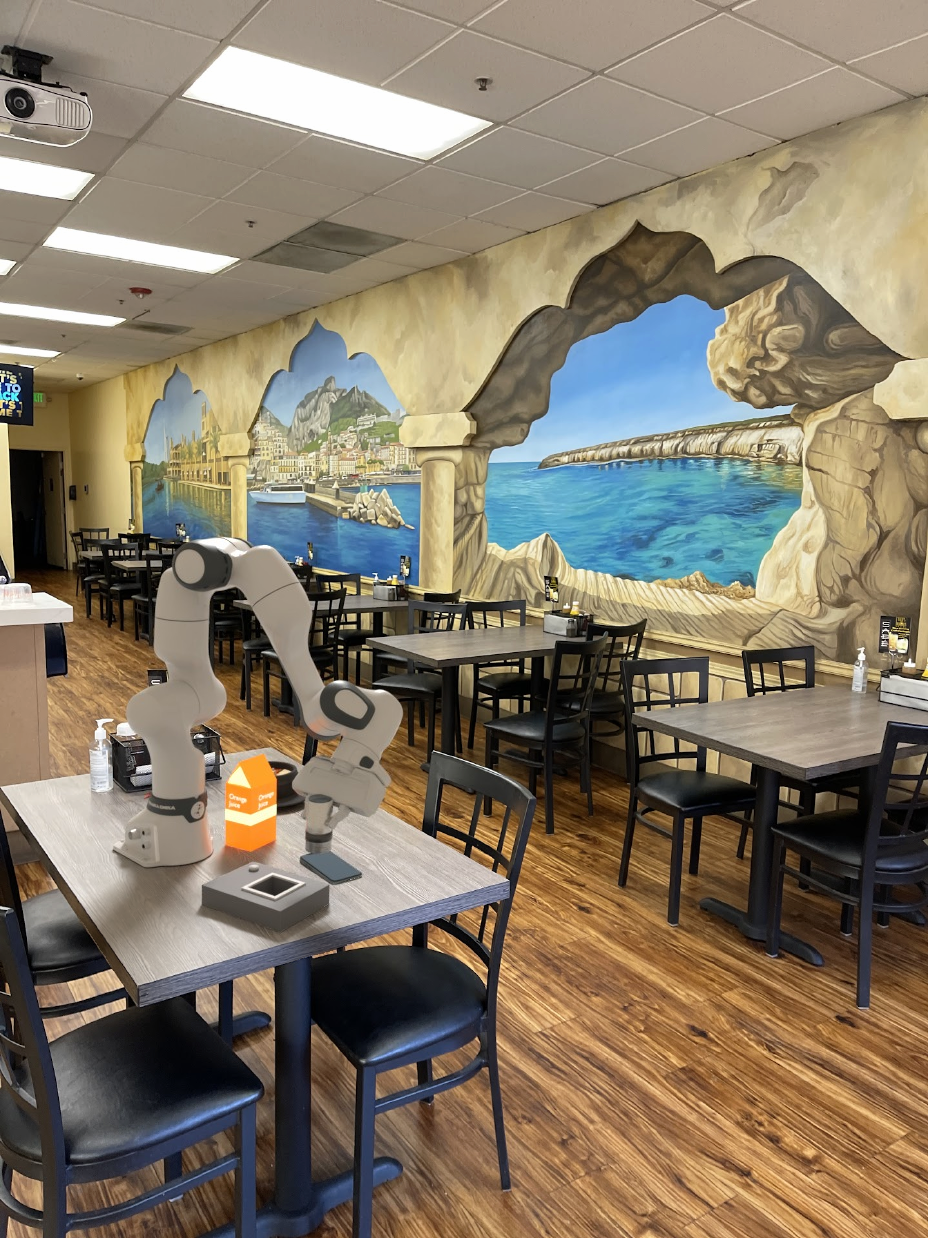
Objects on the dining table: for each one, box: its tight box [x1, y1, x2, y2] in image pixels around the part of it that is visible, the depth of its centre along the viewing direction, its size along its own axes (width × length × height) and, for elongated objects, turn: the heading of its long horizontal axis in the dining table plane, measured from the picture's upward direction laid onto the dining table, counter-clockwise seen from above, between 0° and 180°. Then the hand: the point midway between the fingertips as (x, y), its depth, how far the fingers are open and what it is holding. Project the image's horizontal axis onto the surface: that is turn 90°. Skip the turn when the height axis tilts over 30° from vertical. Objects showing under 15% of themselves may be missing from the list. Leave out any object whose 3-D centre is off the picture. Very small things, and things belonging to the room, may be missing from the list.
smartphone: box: [299, 851, 363, 885], centre depth 186 cm, size 8×2×15 cm
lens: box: [304, 794, 334, 854], centre depth 167 cm, size 5×5×10 cm
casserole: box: [267, 760, 306, 808], centre depth 229 cm, size 25×19×8 cm
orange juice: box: [224, 753, 278, 852], centre depth 198 cm, size 8×9×20 cm
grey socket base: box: [201, 860, 330, 933], centre depth 167 cm, size 20×14×5 cm
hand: (316, 823), depth 166 cm, fingers closed on lens, 5 cm apart
